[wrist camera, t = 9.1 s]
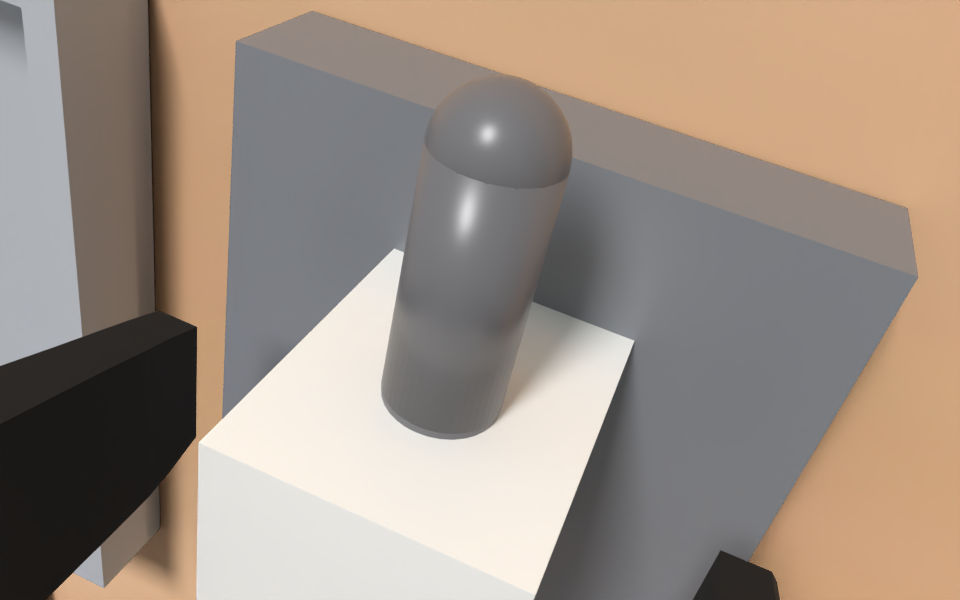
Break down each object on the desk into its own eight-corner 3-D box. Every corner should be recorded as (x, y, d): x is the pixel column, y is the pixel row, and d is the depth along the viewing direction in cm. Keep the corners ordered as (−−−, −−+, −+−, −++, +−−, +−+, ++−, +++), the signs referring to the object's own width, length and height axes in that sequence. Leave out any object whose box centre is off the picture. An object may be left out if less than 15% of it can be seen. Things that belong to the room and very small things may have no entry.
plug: (589, 457, 15) (461, 785, 10) (401, 379, 15) (195, 649, 10) (751, 38, 10) (670, 245, 6) (483, -43, 11) (203, 77, 6)
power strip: (602, 754, 19) (579, 846, 18) (262, 590, 21) (211, 659, 19) (907, 208, 11) (918, 281, 10) (312, 11, 13) (232, 42, 11)
